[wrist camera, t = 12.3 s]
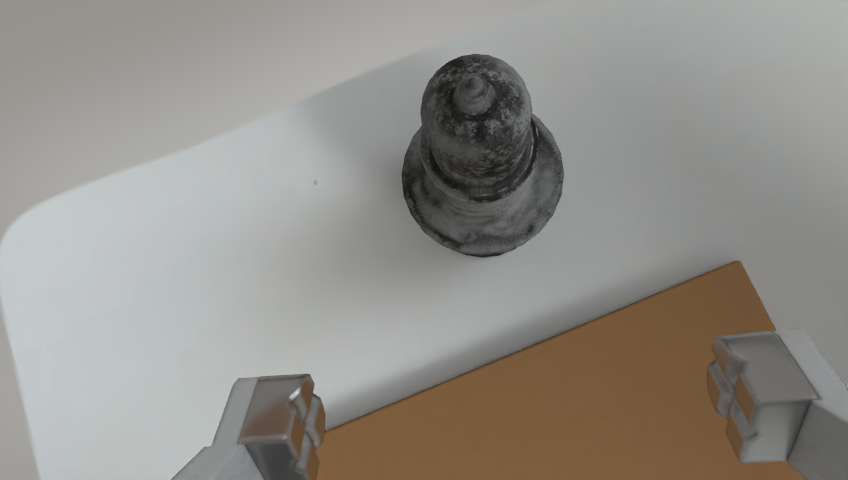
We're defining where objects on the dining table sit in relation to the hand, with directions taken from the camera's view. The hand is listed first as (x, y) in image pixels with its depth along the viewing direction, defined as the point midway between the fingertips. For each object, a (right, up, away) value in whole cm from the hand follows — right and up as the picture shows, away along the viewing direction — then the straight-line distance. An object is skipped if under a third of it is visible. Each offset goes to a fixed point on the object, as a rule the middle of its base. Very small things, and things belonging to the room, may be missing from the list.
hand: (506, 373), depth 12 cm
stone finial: (+1, +5, +13) cm, 14 cm away
